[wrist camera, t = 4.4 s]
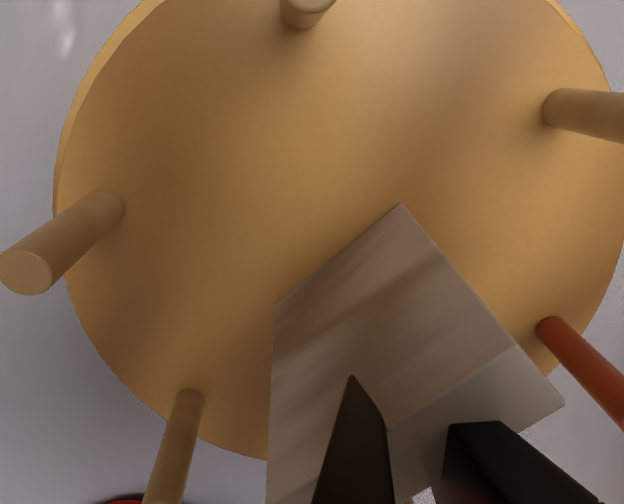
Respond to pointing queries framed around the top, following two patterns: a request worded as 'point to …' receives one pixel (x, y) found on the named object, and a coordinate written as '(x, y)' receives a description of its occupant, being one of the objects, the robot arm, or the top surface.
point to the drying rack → (339, 225)
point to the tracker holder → (125, 502)
